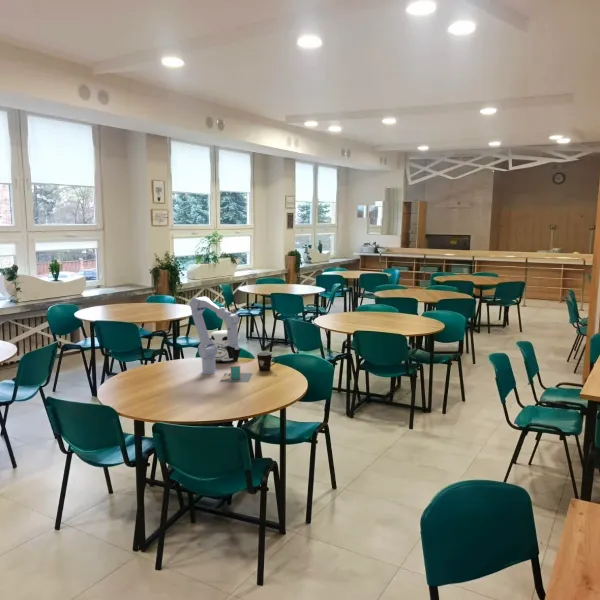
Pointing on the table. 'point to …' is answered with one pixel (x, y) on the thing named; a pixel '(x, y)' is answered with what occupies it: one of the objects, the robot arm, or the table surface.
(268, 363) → the coffee mug
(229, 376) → the turner
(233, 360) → the robot arm
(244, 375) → the mat
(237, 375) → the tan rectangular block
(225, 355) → the milk container
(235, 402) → the table surface
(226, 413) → the table surface
